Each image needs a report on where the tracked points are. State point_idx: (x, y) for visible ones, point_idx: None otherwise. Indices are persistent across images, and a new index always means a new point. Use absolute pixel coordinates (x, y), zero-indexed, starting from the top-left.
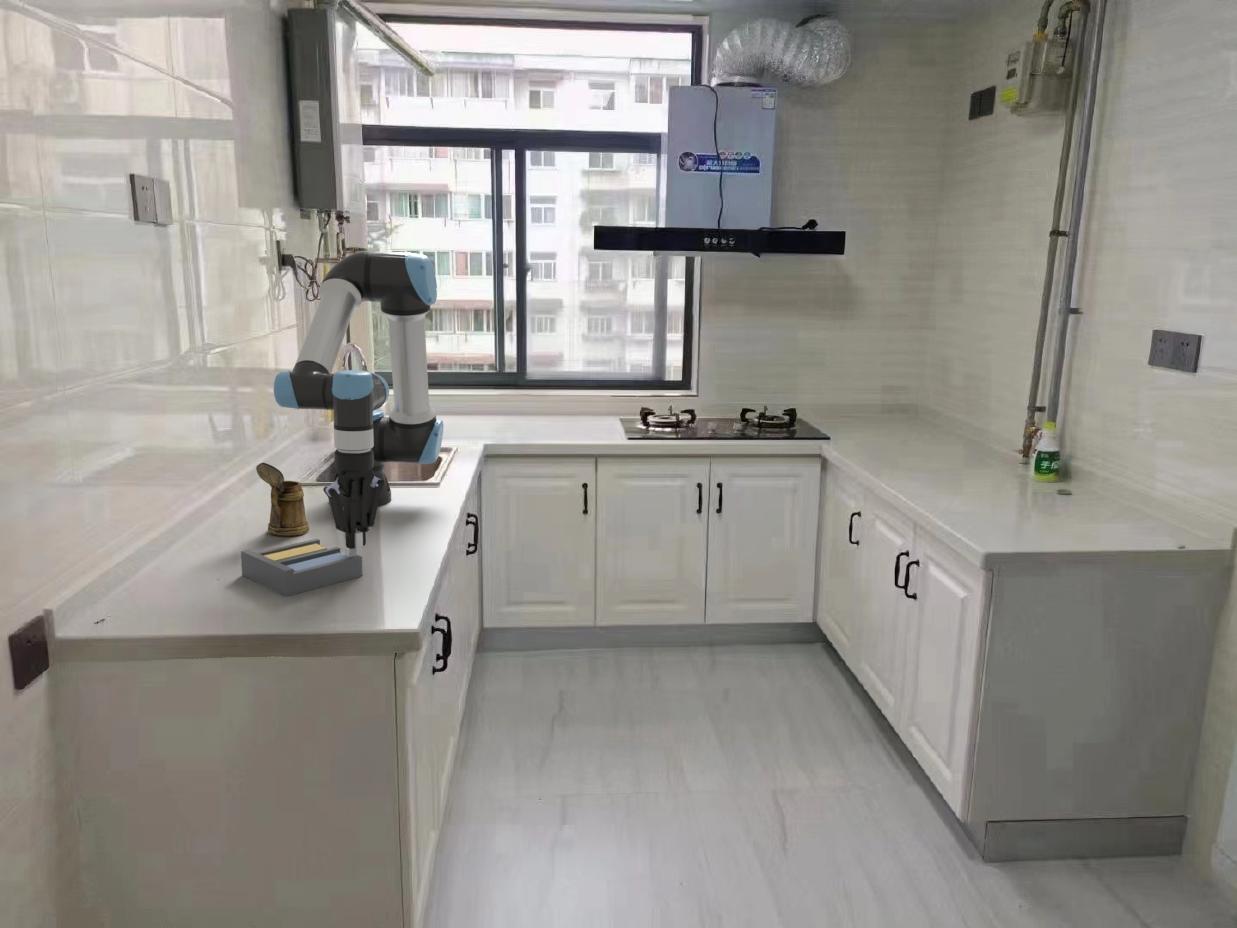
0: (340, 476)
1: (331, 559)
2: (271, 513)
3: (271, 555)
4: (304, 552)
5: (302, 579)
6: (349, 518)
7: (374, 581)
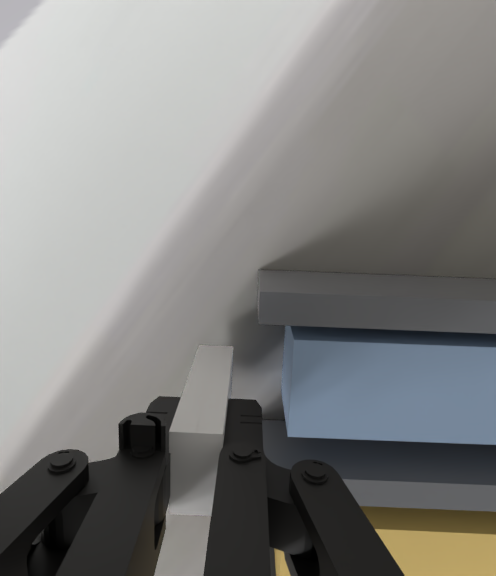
0: None
1: (385, 377)
2: None
3: None
4: (398, 540)
5: None
6: (267, 557)
7: (267, 168)
